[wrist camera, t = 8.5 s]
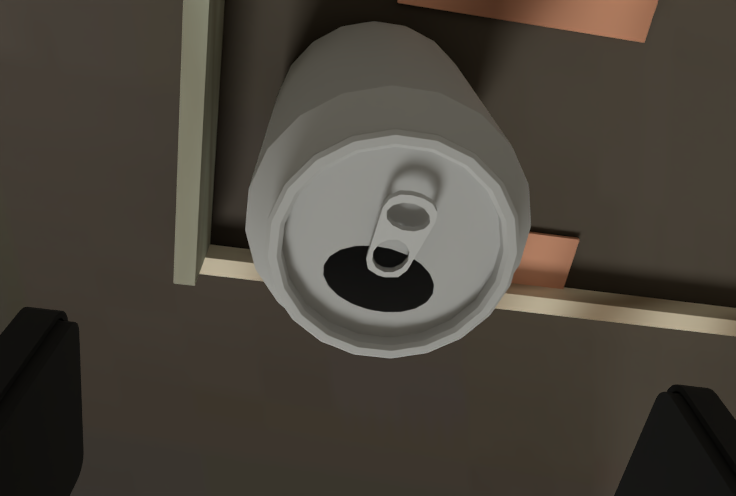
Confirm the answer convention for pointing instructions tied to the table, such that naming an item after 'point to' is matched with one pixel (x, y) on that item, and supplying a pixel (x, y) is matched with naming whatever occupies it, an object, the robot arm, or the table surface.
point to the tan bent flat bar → (542, 251)
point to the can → (385, 196)
